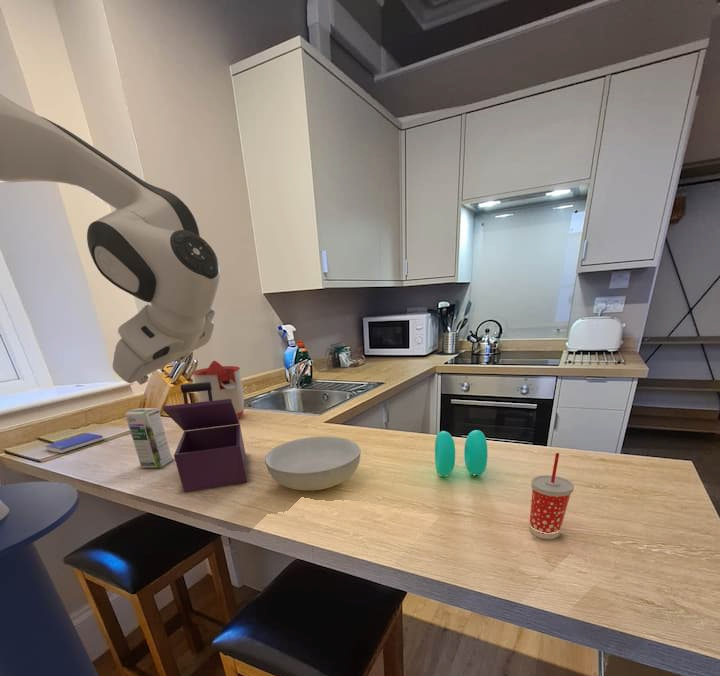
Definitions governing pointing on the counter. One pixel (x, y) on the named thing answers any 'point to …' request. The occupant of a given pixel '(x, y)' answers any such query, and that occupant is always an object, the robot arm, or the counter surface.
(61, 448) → the hard drive
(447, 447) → the pair of teal ovoids
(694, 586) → the counter surface
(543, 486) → the beverage cup
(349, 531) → the counter surface
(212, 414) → the lid
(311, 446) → the serving bowl
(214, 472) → the box
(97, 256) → the robot arm
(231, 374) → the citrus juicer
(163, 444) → the syrup box
